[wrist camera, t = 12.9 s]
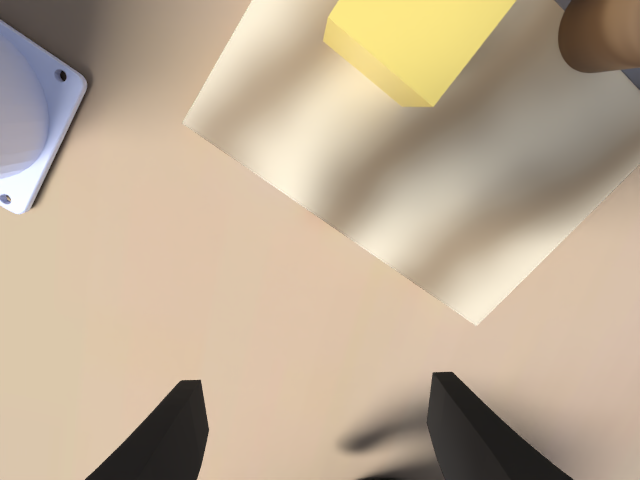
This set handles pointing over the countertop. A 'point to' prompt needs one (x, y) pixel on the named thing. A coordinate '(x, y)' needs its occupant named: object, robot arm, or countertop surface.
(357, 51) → the block
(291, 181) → the cream striped towel
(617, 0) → the bottle
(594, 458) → the countertop surface
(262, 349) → the countertop surface
